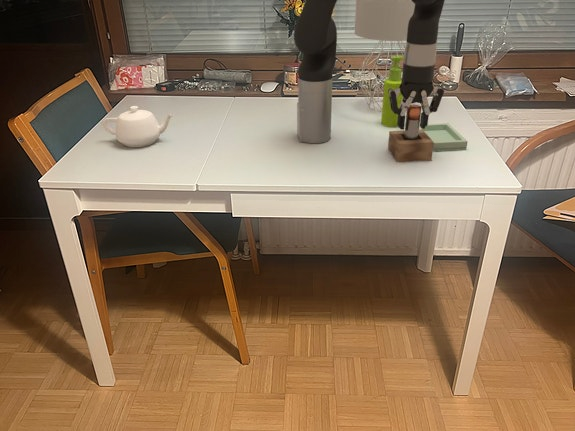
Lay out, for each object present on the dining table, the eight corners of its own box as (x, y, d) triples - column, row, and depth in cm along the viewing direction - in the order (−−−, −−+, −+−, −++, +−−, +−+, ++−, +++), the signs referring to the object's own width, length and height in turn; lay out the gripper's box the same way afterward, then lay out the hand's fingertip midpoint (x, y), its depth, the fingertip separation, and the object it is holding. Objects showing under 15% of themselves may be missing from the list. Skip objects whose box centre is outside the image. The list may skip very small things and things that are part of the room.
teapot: (180, 133, 156) (176, 99, 151) (172, 149, 146) (167, 113, 141) (112, 133, 157) (106, 100, 152) (99, 150, 146) (92, 114, 141)
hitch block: (397, 162, 136) (399, 144, 134) (387, 148, 144) (389, 131, 142) (431, 160, 137) (433, 142, 135) (420, 146, 145) (422, 129, 142)
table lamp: (406, 122, 161) (421, -22, 141) (339, 111, 171) (344, -25, 151) (429, 102, 178) (445, -30, 158) (366, 92, 188) (374, -32, 168)
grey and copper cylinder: (404, 157, 139) (409, 109, 132) (400, 152, 142) (405, 104, 135) (417, 156, 139) (423, 108, 133) (413, 151, 142) (418, 104, 136)
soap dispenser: (404, 127, 157) (411, 59, 148) (380, 126, 159) (385, 58, 149) (404, 121, 162) (411, 54, 152) (381, 119, 164) (386, 53, 154)
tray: (429, 151, 142) (431, 143, 141) (413, 132, 154) (414, 124, 153) (466, 149, 143) (467, 141, 142) (447, 131, 155) (448, 123, 154)
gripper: (394, 66, 125) (388, 134, 133) (453, 63, 126) (444, 132, 134) (386, 58, 131) (380, 124, 140) (442, 56, 132) (434, 121, 141)
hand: (412, 127), depth 137 cm, fingers open, 5 cm apart
